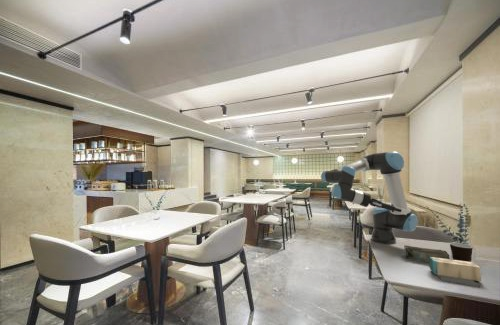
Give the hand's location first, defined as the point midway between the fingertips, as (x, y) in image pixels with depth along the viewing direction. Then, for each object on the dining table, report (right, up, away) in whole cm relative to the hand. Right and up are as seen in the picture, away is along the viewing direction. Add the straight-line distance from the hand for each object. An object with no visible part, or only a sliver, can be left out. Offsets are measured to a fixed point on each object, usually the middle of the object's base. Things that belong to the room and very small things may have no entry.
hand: (406, 212), depth 113 cm
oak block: (+4, -23, -12) cm, 26 cm away
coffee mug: (+29, -27, -1) cm, 40 cm away
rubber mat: (+10, -26, -15) cm, 32 cm away
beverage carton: (+13, -28, +3) cm, 31 cm away
